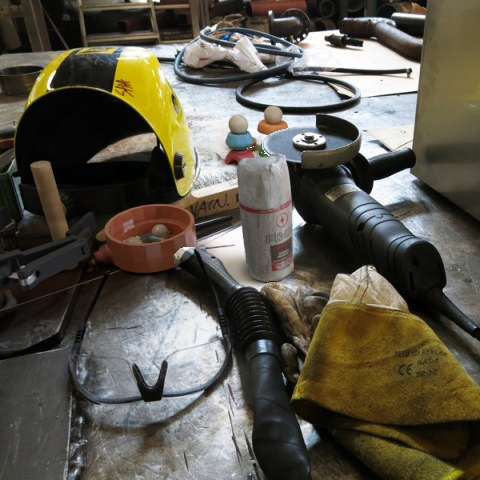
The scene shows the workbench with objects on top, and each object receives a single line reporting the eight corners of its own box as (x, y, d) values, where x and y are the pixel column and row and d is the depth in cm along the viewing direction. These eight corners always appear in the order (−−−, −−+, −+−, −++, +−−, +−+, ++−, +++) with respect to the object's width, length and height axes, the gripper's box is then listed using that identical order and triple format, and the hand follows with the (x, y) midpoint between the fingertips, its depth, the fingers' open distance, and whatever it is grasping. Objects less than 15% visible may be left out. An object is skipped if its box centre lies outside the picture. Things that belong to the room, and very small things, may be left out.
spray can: (250, 288, 75) (243, 170, 65) (238, 261, 82) (230, 149, 72) (301, 278, 78) (302, 163, 68) (285, 252, 84) (284, 144, 74)
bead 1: (122, 254, 81) (119, 239, 80) (137, 246, 83) (134, 231, 82) (133, 260, 80) (130, 244, 78) (148, 252, 82) (145, 237, 80)
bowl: (94, 257, 81) (86, 226, 78) (161, 225, 92) (156, 197, 89) (148, 287, 75) (142, 255, 72) (214, 249, 85) (211, 219, 82)
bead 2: (149, 240, 85) (146, 226, 84) (162, 234, 87) (160, 219, 86) (160, 246, 84) (157, 231, 82) (173, 239, 86) (171, 224, 84)
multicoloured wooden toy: (241, 139, 135) (239, 95, 128) (294, 151, 128) (294, 104, 121) (199, 159, 121) (194, 110, 114) (255, 174, 114) (253, 122, 108)
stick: (57, 266, 79) (26, 164, 70) (72, 260, 81) (44, 159, 71) (66, 272, 78) (36, 168, 68) (81, 265, 79) (53, 163, 70)
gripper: (-143, 320, 57) (-21, 232, 76) (57, 337, 56) (133, 243, 74) (-175, 268, 53) (-37, 189, 72) (40, 285, 52) (124, 200, 70)
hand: (49, 216), depth 73 cm, fingers open, 13 cm apart
